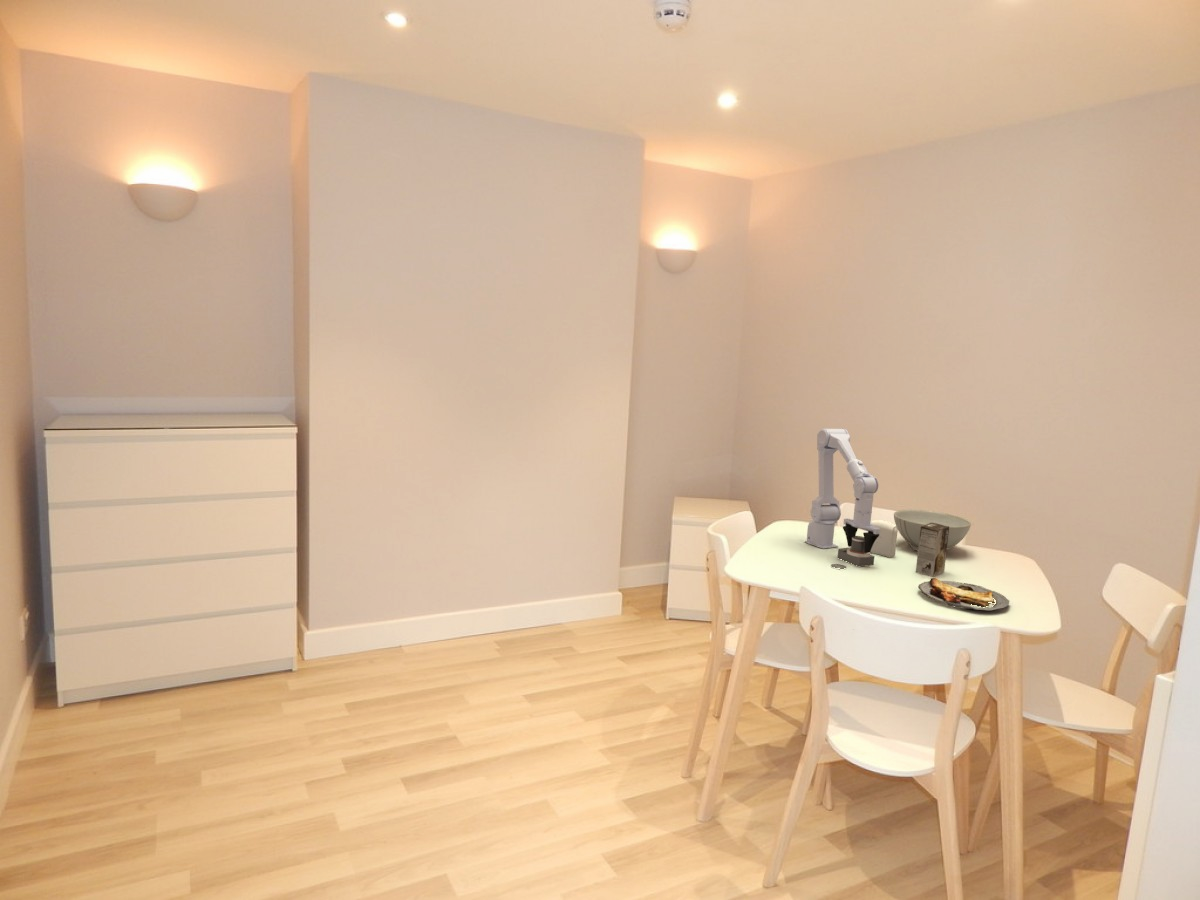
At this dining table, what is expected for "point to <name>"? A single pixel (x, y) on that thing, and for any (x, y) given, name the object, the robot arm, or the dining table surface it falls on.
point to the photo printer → (885, 538)
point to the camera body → (855, 557)
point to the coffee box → (932, 549)
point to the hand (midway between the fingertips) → (858, 549)
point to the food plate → (963, 594)
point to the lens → (858, 544)
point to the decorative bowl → (914, 519)
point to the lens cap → (838, 566)
